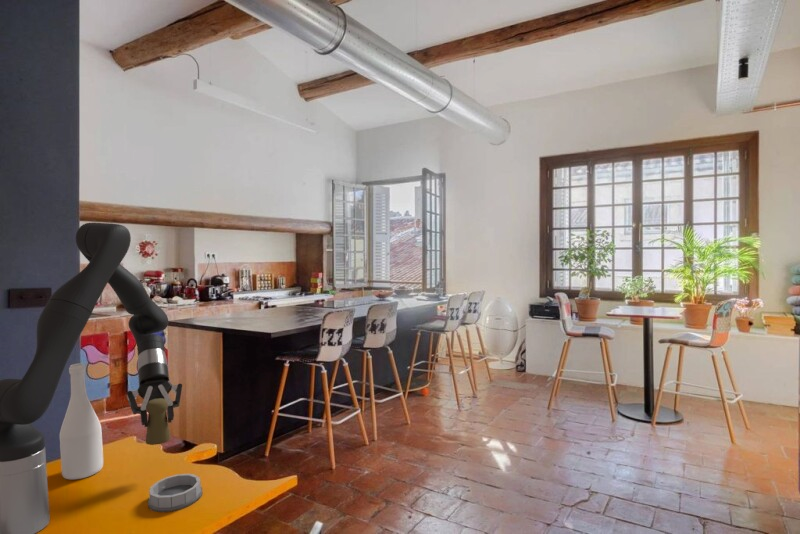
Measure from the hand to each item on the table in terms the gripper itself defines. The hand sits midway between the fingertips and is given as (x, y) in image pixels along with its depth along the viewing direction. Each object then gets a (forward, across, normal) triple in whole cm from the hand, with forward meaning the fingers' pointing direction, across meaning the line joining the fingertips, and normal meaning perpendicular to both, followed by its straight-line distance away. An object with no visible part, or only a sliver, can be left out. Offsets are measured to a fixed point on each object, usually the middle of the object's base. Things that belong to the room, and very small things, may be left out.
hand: (158, 423), depth 125 cm
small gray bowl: (+20, +2, +1) cm, 20 cm away
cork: (+2, 0, +5) cm, 6 cm away
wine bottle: (0, -18, +22) cm, 28 cm away
